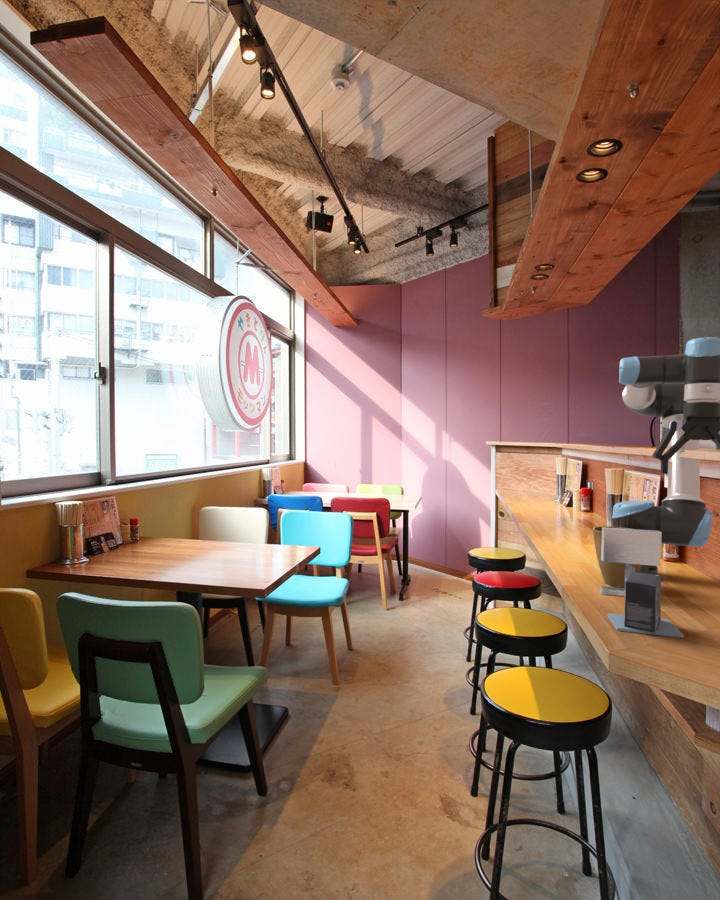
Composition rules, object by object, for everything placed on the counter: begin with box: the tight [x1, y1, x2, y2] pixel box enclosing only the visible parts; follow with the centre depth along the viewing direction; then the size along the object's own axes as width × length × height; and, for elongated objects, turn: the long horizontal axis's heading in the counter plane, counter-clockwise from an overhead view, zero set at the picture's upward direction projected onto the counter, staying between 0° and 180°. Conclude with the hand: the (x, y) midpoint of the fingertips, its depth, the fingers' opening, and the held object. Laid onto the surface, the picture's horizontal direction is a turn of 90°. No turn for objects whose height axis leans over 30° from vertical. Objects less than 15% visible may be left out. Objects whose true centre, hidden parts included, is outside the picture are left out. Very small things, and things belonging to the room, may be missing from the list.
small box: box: [623, 572, 662, 633], centre depth 113 cm, size 11×6×10 cm, turn 144°
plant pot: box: [592, 525, 642, 588], centre depth 147 cm, size 15×15×16 cm
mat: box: [606, 612, 685, 639], centre depth 113 cm, size 10×13×1 cm
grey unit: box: [599, 527, 662, 597], centre depth 136 cm, size 4×14×18 cm, turn 75°
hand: (698, 488), depth 122 cm, fingers open, 13 cm apart
